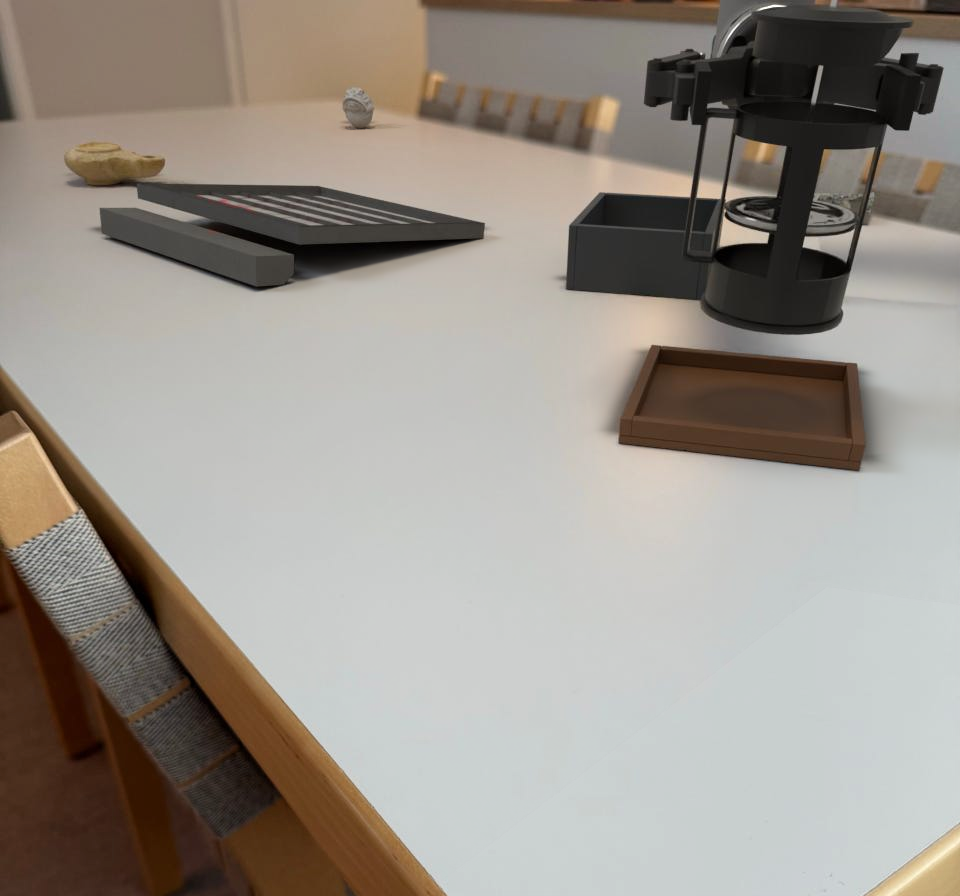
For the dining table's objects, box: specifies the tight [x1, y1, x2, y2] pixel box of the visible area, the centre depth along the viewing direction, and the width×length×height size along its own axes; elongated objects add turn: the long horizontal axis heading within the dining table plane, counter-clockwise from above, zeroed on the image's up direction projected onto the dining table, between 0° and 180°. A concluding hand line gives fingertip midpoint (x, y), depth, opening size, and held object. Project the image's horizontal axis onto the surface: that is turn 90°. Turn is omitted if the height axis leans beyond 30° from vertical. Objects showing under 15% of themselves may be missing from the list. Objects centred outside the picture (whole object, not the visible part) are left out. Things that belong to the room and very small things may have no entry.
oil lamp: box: [63, 141, 166, 186], centre depth 139 cm, size 11×14×5 cm
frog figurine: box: [342, 86, 375, 129], centre depth 184 cm, size 6×7×7 cm
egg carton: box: [813, 191, 875, 226], centre depth 117 cm, size 11×8×4 cm
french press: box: [682, 0, 915, 336], centre depth 58 cm, size 12×9×23 cm
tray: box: [617, 344, 867, 471], centre depth 69 cm, size 16×16×2 cm
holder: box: [565, 191, 727, 300], centre depth 98 cm, size 14×17×6 cm
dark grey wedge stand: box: [98, 182, 486, 287], centre depth 112 cm, size 32×7×31 cm
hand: (803, 101), depth 54 cm, fingers closed on french press, 11 cm apart
